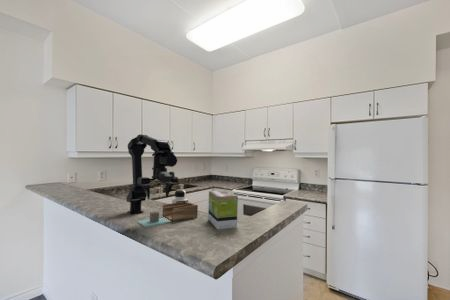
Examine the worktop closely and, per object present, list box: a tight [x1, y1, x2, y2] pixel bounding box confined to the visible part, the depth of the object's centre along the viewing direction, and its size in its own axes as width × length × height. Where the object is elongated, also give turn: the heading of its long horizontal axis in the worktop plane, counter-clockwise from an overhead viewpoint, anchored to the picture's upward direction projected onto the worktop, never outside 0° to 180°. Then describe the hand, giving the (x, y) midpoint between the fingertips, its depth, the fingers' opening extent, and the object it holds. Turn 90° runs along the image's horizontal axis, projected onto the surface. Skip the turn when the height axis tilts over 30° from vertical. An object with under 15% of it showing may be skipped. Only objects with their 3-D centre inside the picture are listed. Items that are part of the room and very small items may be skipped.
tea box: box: [207, 190, 239, 230], centre depth 98 cm, size 15×10×15 cm, turn 21°
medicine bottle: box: [171, 189, 189, 204], centre depth 117 cm, size 7×7×12 cm
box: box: [161, 201, 199, 223], centre depth 106 cm, size 11×14×6 cm
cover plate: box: [137, 211, 171, 229], centre depth 96 cm, size 9×12×5 cm
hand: (157, 198), depth 98 cm, fingers open, 9 cm apart
